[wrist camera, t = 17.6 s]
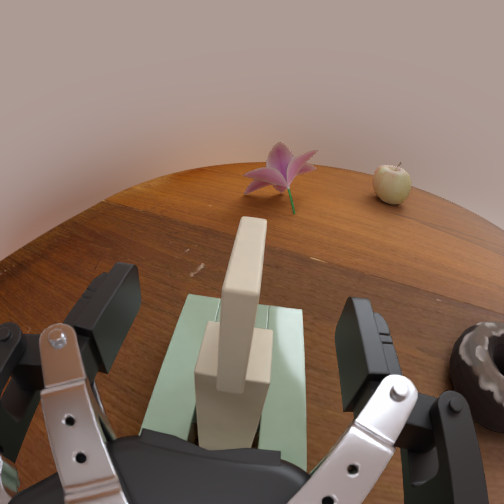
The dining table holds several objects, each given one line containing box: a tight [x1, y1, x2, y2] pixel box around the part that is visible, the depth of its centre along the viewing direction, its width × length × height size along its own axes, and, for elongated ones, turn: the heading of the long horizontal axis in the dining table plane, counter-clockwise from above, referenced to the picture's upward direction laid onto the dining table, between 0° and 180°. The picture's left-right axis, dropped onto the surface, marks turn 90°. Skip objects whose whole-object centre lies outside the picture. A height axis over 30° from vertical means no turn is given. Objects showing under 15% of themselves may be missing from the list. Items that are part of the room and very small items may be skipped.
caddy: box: [139, 294, 307, 472], centre depth 14 cm, size 8×20×4 cm, turn 175°
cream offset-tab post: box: [194, 216, 273, 450], centre depth 12 cm, size 2×4×14 cm, turn 175°
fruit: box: [373, 163, 411, 205], centre depth 53 cm, size 8×7×8 cm
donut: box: [450, 322, 504, 433], centre depth 18 cm, size 12×12×4 cm
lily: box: [243, 142, 317, 214], centre depth 44 cm, size 12×12×10 cm
